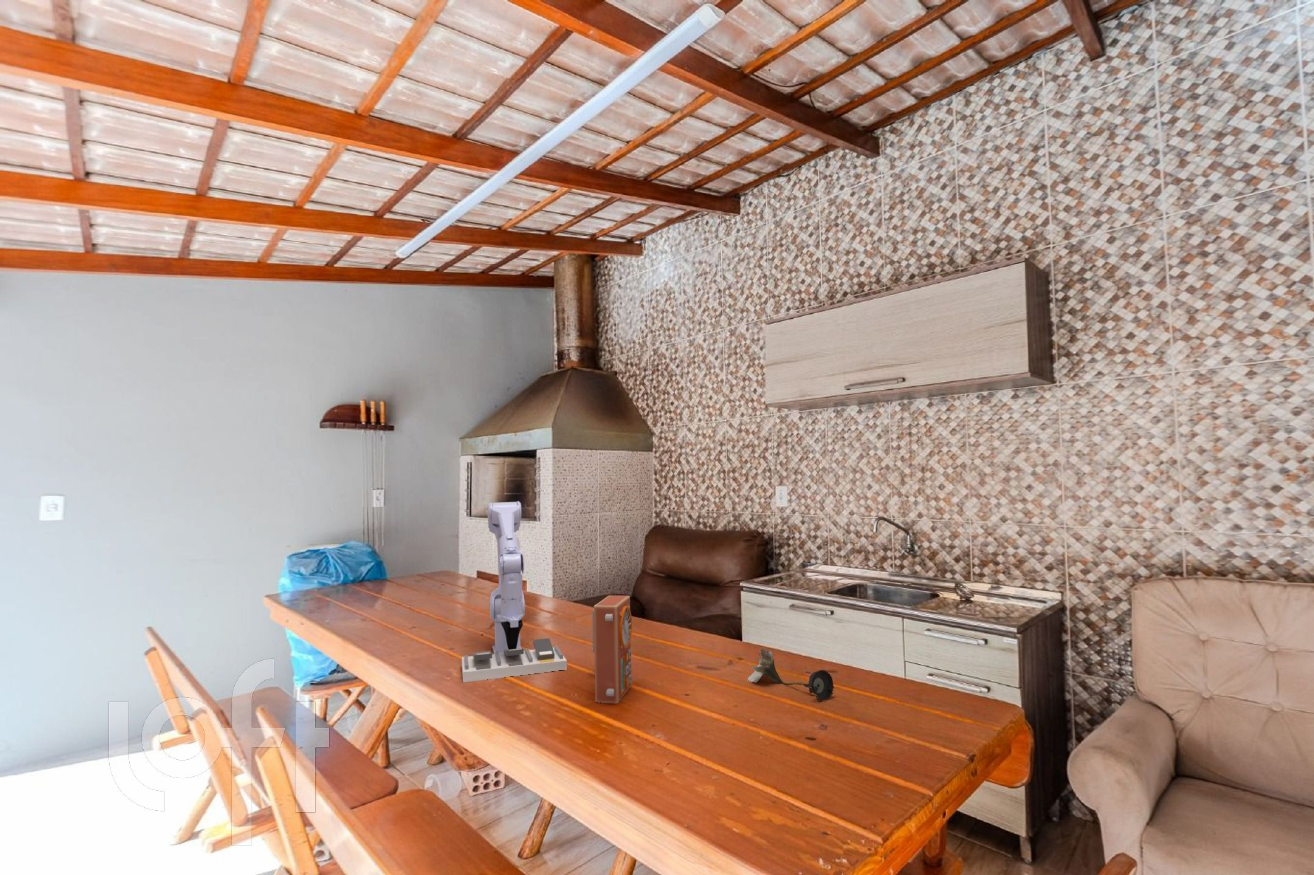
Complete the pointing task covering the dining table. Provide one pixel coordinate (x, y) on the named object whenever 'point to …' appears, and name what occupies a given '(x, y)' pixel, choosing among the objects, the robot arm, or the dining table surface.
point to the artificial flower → (817, 681)
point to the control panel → (612, 648)
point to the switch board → (510, 665)
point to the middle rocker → (513, 652)
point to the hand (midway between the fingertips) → (512, 648)
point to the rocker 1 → (482, 655)
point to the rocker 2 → (543, 649)
